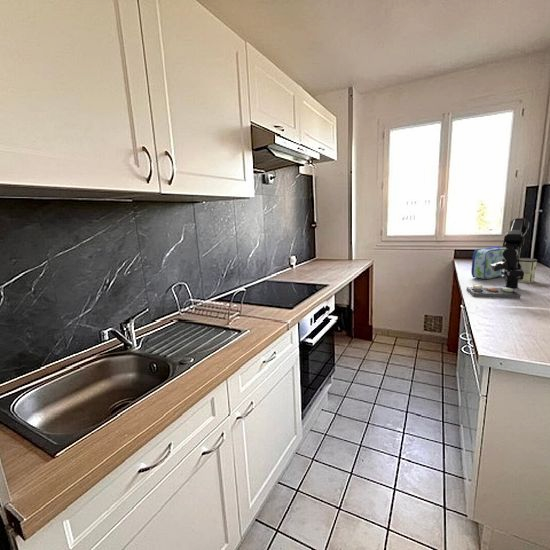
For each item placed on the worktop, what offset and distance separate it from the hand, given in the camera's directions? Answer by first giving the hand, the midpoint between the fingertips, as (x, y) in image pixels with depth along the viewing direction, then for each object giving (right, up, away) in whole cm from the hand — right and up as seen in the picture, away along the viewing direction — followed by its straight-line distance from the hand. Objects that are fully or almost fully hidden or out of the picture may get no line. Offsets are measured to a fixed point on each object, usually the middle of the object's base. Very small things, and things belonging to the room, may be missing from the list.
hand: (507, 286), depth 165 cm
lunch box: (+21, +4, +47) cm, 52 cm away
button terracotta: (-6, -4, +3) cm, 8 cm away
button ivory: (-13, -3, +5) cm, 14 cm away
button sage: (0, -5, +1) cm, 5 cm away
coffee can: (+36, +2, +34) cm, 50 cm away
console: (-6, -6, +3) cm, 9 cm away
